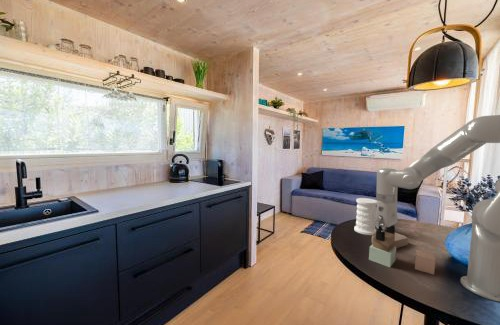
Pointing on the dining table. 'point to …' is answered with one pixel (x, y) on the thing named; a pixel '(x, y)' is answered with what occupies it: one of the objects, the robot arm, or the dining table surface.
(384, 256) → the base block
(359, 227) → the decorative container
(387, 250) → the walnut cube
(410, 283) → the dining table surface
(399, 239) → the brick
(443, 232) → the dining table surface
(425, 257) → the terracotta cube
